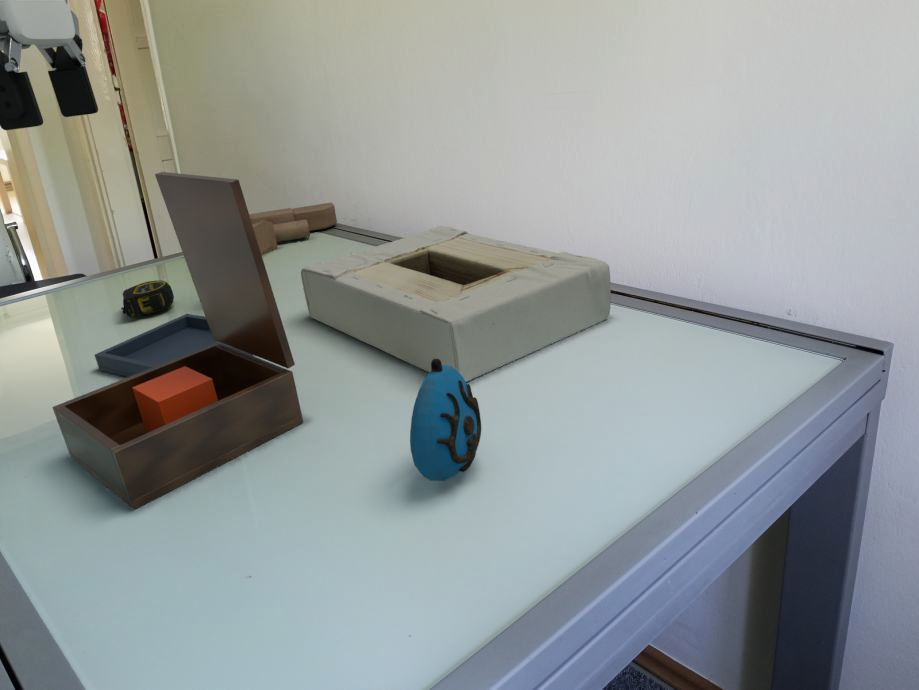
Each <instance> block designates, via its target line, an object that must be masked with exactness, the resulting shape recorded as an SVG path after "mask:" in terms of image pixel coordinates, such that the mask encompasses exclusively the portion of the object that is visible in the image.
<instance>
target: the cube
mask: <svg viewBox="0 0 919 690" xmlns="http://www.w3.org/2000/svg"><path fill="white" fill-rule="evenodd" d="M132 389H133V392H134V395H135V398H136V401H137V404H138V408H139V411H140V414H141V417H142V420H143V423H144V426H145V430H146V433H149V432H151V431H153V430H155V429H157V428H160V427H162V426H164V425H166V424H169V423H171V422H173V421H175V420H177V419H180V418H182V417H184V416H186V415H188V414H191V413H193V412H195V411H197V410H200V409H202V408H204V407H206V406H208V405H211V404H213V403H215V402H217V401H218V399H217V395H216V391H215V387H214V383H213V380H212V378H209V377H207V376H205V375H203V374H201V373H199V372H196V371H194V370H192V369H190V368H188V367H186V366H184V367H182V368H179V369H177V370H174V371H172V372H169V373H167V374H164V375H162V376H159V377H157V378H154V379H152V380H150V381H147V382H145V383H142V384H140V385H137V386H135V387H132Z"/></svg>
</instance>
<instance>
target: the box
mask: <svg viewBox="0 0 919 690" xmlns="http://www.w3.org/2000/svg"><path fill="white" fill-rule="evenodd" d="M300 277H301V284H302V289H303V295H304V298H305V299H304V300H305V302H306V303H305V304H306V307H307V311H308V314H309V316H310V318H312V319H314V320H316V321H318V322H320V323H323V324H325V325H327V326H329V327H331V328H333V329H336V330H337V331H340V332H342V333H344V334H346V335H348V336H350V337H353V338H355V339H357V340H359V341H361V342H363V343H365V344H368V345H370V346H373V347H374V348H377V349H379V350H381V351H382V352H385V353H386V354H389V355H391V356H394V357H395V358H397V359H399V360H402V361H404V362H406V363H408V364H410V365H412V366H415V367H417V368H419V369H421V370H423V371H425V372H428V373H429V372H430V371H431V361H432V360H433V359H436V358H437V359H439V360H440V361H441V363H442V365H449V366H452V367H453V368H454V369H456V370H457V371H458V372H459V373H460V374H461V375H462V377H463V378H464V380H465V381H466V383H468V382H469V381H471V380H474V379H475V378H479V377H481V376H482V375H485V374H487V373H488V372H491V371H494V370H496V369H499V368H500V367H503V366H505V365H507V364H509V363H511V362H514V361H515V360H519V359H520V358H523V357H525V356H527V355H529V354H532V353H533V352H536V351H538V350H541V349H542V348H546V347H547V346H549V345H552V344H554V343H557V342H558V341H561V340H564V339H565V338H567V337H570V336H572V335H574V334H578V333H580V332H581V331H583V330H586V329H588V328H590V327H592V326H595V325H596V324H599V323H602V322H603V321H605V320H607V319H608V318H609V316H610V313H611V302H612V301H611V299H612V298H611V295H612V294H611V293H612V292H611V289H612V288H611V271H610V265H609V264H608V262H606V261H604V260H602V259H599V258H596V257H591V256H585V255H584V256H583V255H576V254H573V253H571V252H569V251H568V252H567V251H560V252H554V251H550V250H545V249H541V248H536V247H532V246H527V245H523V244H519V243H518V244H517V243H514V242H508V241H504V240H500V239H495V238H490V237H486V236H481V235H476V234H472V233H469V232H468V231H467V230H461V229H457V228H454V227H450V226H443V225H442V226H441V225H440V226H436V227H433V228H431V229H428V230H425V231H423V232H419V233H416V234H412V235H410V236H406V237H403V238H400V239H397V240H393V241H389V242H386V243H383V244H380V245H375V246H373V247H369V248H366V249H363V250H359V251H357V252H353V253H349V254H345V255H344V256H343V255H342V256H340V257H337V258H333V259H330V260H326V261H323V262H316V263H311V264H308V265H306V266H304V267H303V268H301V270H300Z"/></svg>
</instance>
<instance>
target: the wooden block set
mask: <svg viewBox="0 0 919 690" xmlns="http://www.w3.org/2000/svg"><path fill="white" fill-rule="evenodd" d="M249 215H250V219H251V222H252V225H253V229H254V232H255V235H256V238H257V242H258V245H259V248H260V252H261V255H262V256H263V255H266V254H268V253H270V252H272V251H274V250H277V249H278V247H279V246H278V243H280V242H286V241H292V240H298V239H299V240H300V239H304V238H309V237H310V236H311V232H313V231H318V230H324V229H325V230H327V229H328V228H332V227H333V226H336V225H337V223H338V220H337V214H336V208H335V204H334V203H333V202H325V203H318V204H313V205H307V206H300V207H294V208H292V207H287V208H280V209H273V210H268V211H261V212H255V213H249Z"/></svg>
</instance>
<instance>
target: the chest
mask: <svg viewBox="0 0 919 690" xmlns="http://www.w3.org/2000/svg"><path fill="white" fill-rule="evenodd" d="M184 366H186V367H188V368H190V369H192V370H194V371H196V372H199V373H201V374H203V375H205V376H207V377H209V378H212V380H213V383H214V387H215V391H216V395H217V399H218V401H217V402H215V403H213V404H211V405H208V406H206V407H204V408H202V409H200V410H197V411H195V412H193V413H191V414H188V415H186V416H184V417H182V418H180V419H177V420H175V421H173V422H171V423H169V424H166V425H164V426H162V427H160V428H157V429H155V430H153V431H151V432H149V433H146V430H145V426H144V423H143V420H142V417H141V414H140V411H139V408H138V404H137V401H136V398H135V395H134V392H133V389H132V387H135V386H137V385H140V384H142V383H145V382H147V381H150V380H152V379H154V378H157V377H159V376H162V375H164V374H167V373H169V372H172V371H174V370H177V369H179V368H182V367H184ZM52 411H53V413H54V416H55V419H56V422H57V424H58V426H59V430H60V432H61V435H62V438H63V440H64V444H65V446H66V449H67V451H68V454H69V456H70V459H71V460H73V461H74V462H75V463H76V464H78V465H79V466H80V467H81V468H82V469H84V471H86V472H87V473H89V474H90V475H91V476H92V477H94V479H96V480H97V481H98V482H99V483H101V484H102V485H103V486H104V487H105V488H107V489H108V490H109V491H110V492H112V493H113V494H114V495H115V496H117V497H118V498H119V499H120V500H121V501H122V502H124V503H125V504H127V505H128V506H129V507H130V508H131V509H132V510H134V511H135V510H137V509H139V508H141V507H142V506H144V505H146V504H148V503H150V502H152V501H154V500H156V499H158V498H161V496H164V495H165V494H168V493H169V492H171V491H173V490H175V489H177V488H179V487H181V486H183V485H185V484H187V483H189V482H191V481H193V480H194V479H197V478H199V477H201V476H203V475H204V474H206V473H208V472H210V471H212V470H214V469H216V468H218V467H220V466H222V465H224V464H226V463H228V462H230V461H232V460H233V459H236V458H238V457H240V456H242V455H243V454H245V453H248V452H249V451H251V450H253V449H255V448H257V447H258V446H260V445H263V444H264V443H267V442H269V441H270V440H272V439H275V438H276V437H278V436H280V435H282V434H284V433H286V432H288V431H290V430H292V429H294V428H296V427H297V426H299V425H302V424H303V423H304V418H303V414H302V408H301V405H300V400H299V394H298V390H297V385H296V382H295V377H294V373H293V371H292V370H289V369H288V368H285V367H283V366H280V365H278V364H275V363H273V362H270V361H268V360H265V359H262V358H260V357H257V356H255V355H249V354H247V353H244V352H241V351H239V350H236V349H234V348H231V347H229V346H226V345H224V344H221V343H219V342H217V343H214V344H212V345H209V346H206V347H204V348H201V349H199V350H196V351H194V352H191V353H189V354H186V355H184V356H181V357H178V358H176V359H173V360H171V361H168V362H166V363H163V364H161V365H158V366H156V367H153V368H150V369H148V370H145V371H143V372H140V373H138V374H135V375H133V376H130V377H125V378H123V379H120V380H117V381H115V382H112V383H110V384H107V385H104V386H102V387H100V388H97V389H95V390H92V391H90V392H86V393H84V394H82V395H79V396H77V397H74V398H71V399H70V400H66V401H64V402H61V403H59V404H57V405H54V406H52Z"/></svg>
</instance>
